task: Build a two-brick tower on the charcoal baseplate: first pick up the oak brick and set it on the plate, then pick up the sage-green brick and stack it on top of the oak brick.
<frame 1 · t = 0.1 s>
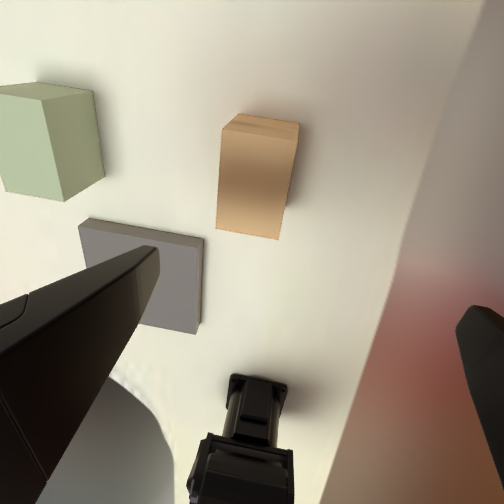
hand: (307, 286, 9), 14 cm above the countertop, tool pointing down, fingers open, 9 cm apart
sage brick: (73, 132, 23), on the countertop
oak brick: (262, 163, 22), on the countertop
grey baseplate: (148, 275, 29), on the countertop
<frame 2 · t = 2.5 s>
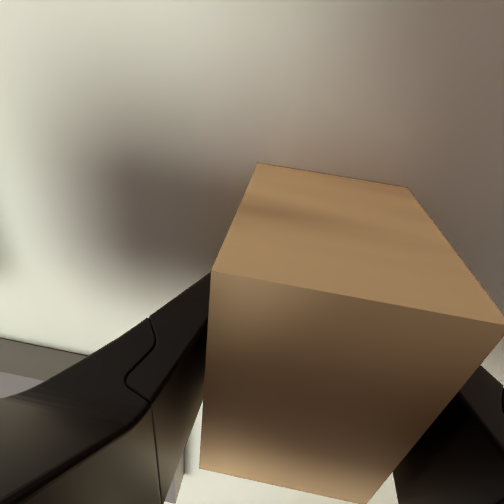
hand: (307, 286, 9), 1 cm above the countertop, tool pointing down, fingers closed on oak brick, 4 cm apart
oak brick: (307, 265, 10), on the countertop, touching gripper
grey baseplate: (94, 414, 17), on the countertop
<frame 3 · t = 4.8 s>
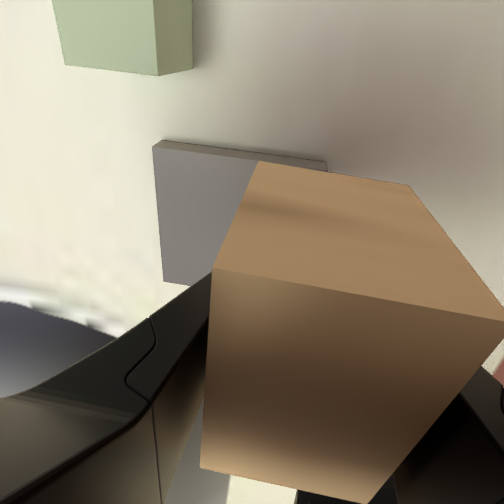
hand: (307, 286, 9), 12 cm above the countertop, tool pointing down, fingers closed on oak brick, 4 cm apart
oak brick: (308, 264, 10), point 11 cm above the countertop, touching gripper
grey baseplate: (236, 223, 22), on the countertop
when the fingers open (3 cm above the countertop, at t = 7.1 s): oak brick stays where it is, resting on grey baseplate.
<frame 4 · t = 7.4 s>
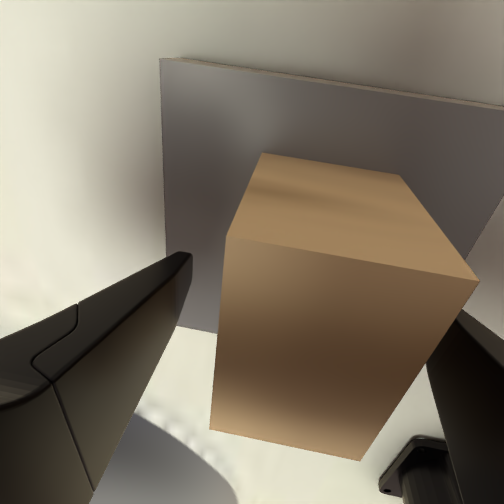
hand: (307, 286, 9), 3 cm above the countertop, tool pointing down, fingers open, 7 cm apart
oak brick: (307, 249, 11), point 1 cm above the countertop, touching grey baseplate
grey baseplate: (306, 229, 12), on the countertop
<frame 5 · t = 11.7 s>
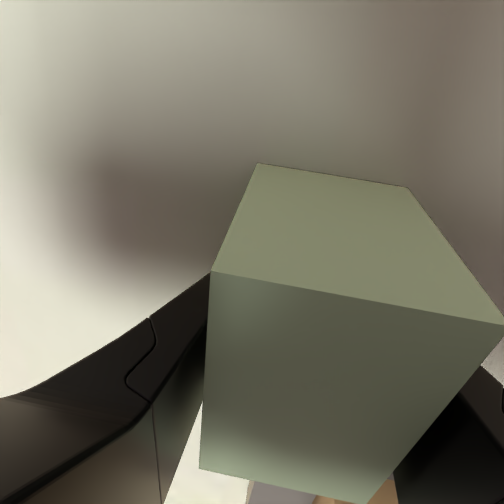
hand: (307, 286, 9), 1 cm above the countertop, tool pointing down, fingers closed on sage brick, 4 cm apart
sage brick: (307, 265, 10), on the countertop, touching gripper
grey baseplate: (353, 469, 16), on the countertop
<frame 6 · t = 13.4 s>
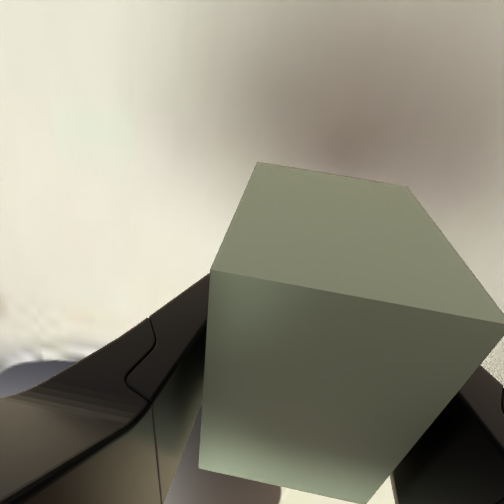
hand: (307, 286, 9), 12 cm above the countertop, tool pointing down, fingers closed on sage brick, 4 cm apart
sage brick: (307, 265, 10), point 11 cm above the countertop, touching gripper
when the fingers open (8 cm above the countertop, at t = 15.3 s): sage brick stays where it is, resting on oak brick.
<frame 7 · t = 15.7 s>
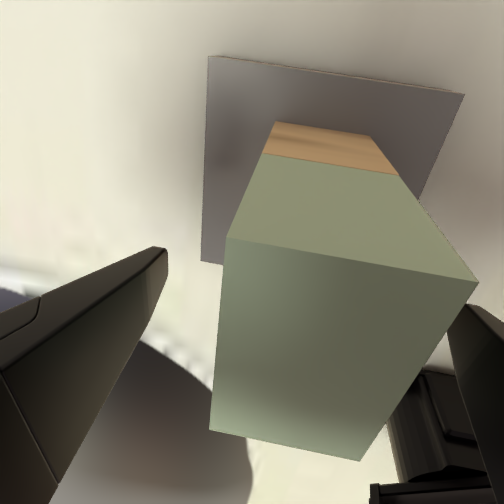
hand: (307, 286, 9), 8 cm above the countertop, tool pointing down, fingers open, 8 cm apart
sage brick: (307, 250, 11), point 6 cm above the countertop, touching oak brick
oak brick: (306, 194, 15), point 1 cm above the countertop, touching grey baseplate, sage brick
grey baseplate: (306, 183, 16), on the countertop
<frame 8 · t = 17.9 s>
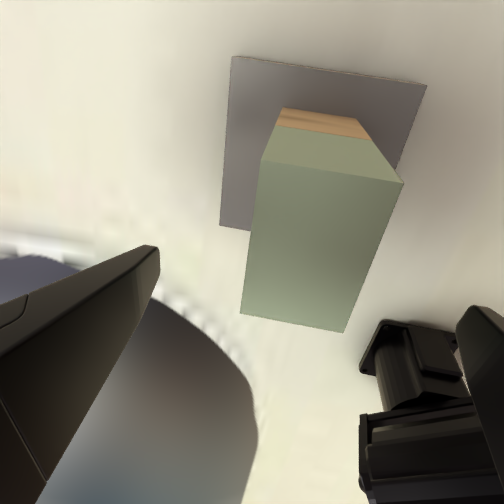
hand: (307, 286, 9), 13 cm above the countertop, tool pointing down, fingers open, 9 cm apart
sage brick: (307, 199, 15), point 6 cm above the countertop, touching oak brick
oak brick: (307, 166, 19), point 1 cm above the countertop, touching grey baseplate, sage brick
grey baseplate: (306, 159, 20), on the countertop
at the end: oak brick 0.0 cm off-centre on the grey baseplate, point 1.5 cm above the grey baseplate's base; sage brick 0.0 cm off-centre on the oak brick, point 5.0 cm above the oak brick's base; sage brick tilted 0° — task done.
